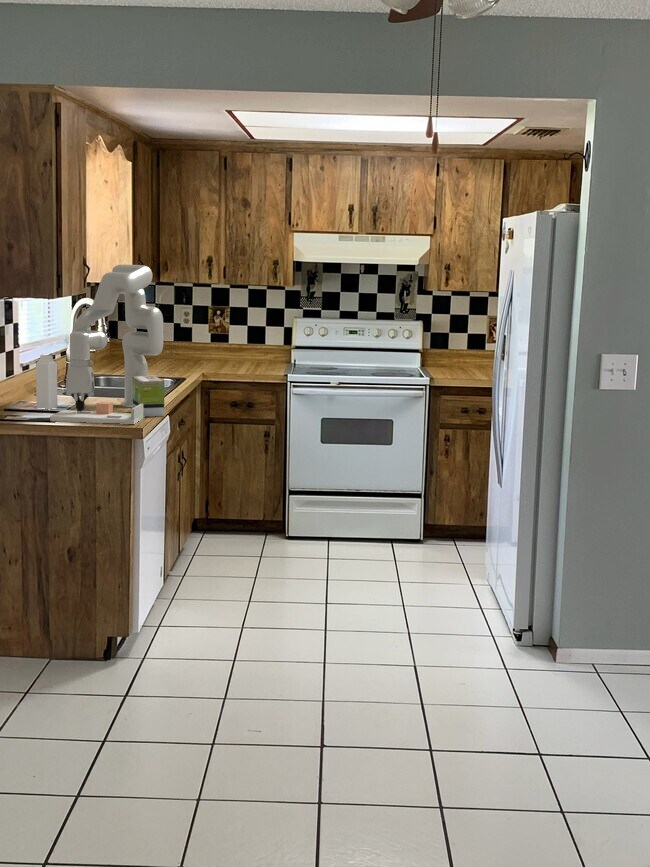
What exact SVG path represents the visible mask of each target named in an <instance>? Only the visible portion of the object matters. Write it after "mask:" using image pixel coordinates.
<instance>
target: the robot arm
mask: <svg viewBox="0 0 650 867" xmlns="http://www.w3.org/2000/svg"><path fill="white" fill-rule="evenodd" d="M152 281H153V272H152V269H151V268H150V267H149V266H148V265H144V264H143V265H141V264H117V265H114V267H113V268H112V271H110V272H109V271H108V272H106V273H104V274H103V276H102V277H101V280H100V282H99V284H98V288H97V291H96V293H95V296H94V300H93V303H92V304H91V305H90V306H88V307H87V308H86V309H85V310H84V311H83V312H82V313H81V314H80V315H79V316H78V317H77V319H76V320H75V322H74V325H73V328H72V329H71V330H72V331H71V333H70V334H69V367H67V372H66V381H65V382H66V384H65V389H66V392H65V394H66V396H68V397H72V399H74V401H75V409H76V411H84V410H85V407H86V406H85V401H86V400H87V399H88V398H91V397H94V396H95V393H94V392H95V376H94V370H93V367H91V366H94V361H91V350H92V351H101V350H103V349H104V348H106V346H107V345H108V336H107V335H106V333H104V332H103V331H99V330H92V329H91V330H89V327H90V326H91V325H93V323H95V322H97V321H99V320H101V319H103V318H106V317H107V316H110V315H112V314H113V312H114V310H115V308H116V306H117V302H118V299H119V296H120V295H124V310H125V311H124V312H125V314H124V316H125V322H126V323H125V324H126V326H128V328H132V329H140V330H141V329H142V330H147V332H146V331H145V332H144V331H137V330H136V331H133V330H132V331H129V332H126V333H125V334H124V336H122V340H121V342H122V350H123V358H124V401H122V402H120V406H121V407H125V408H131V409H132V408H133V383H132V380H133V377H138V376H148V369H149V368H148V367H149V366H148V361H147V360H146V358H145V356H153V357H155V356H158V355H160V354H161V353H162V351H163V350H164V317H163V313H162V311H161V310H160V309H159V308H158V307H156V306H150V305H149V306H147V303H146V302H147V300H146V293H145V288H147V287H148V286H149V285H150V284H151V283H152ZM80 394H81V396H80Z"/></svg>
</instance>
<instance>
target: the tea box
mask: <svg viewBox="0 0 650 867" xmlns="http://www.w3.org/2000/svg"><path fill="white" fill-rule="evenodd" d="M132 383H133V408H134V407H136V406H138V405H139V404H143V416H156V417H157V418H159V417H164V416H165V381H164V380H163V379H161V378H160V377H158V376H156V375H149V376H148V375H147V376H138V377H133V380H132Z"/></svg>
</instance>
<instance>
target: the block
mask: <svg viewBox="0 0 650 867" xmlns="http://www.w3.org/2000/svg"><path fill="white" fill-rule="evenodd" d="M95 412H96V414H111V413H113V412H114V402H111V401H99V402H96V404H95Z"/></svg>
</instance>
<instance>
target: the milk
mask: <svg viewBox="0 0 650 867" xmlns="http://www.w3.org/2000/svg"><path fill="white" fill-rule="evenodd" d="M53 358H54V356H53V355H47V354H46V355H45V354H40V358H39V359H38V360H37V362H36V363H35V377H36V378H35V380H36V381H35V384H36V385H35V387H36V388H35V391H36V396H35V397H36V400H35V401H36V409H37V408H45V409H52V408H56V407H58V405H59V404H58V362H56V361H55V360H54V359H53Z"/></svg>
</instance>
